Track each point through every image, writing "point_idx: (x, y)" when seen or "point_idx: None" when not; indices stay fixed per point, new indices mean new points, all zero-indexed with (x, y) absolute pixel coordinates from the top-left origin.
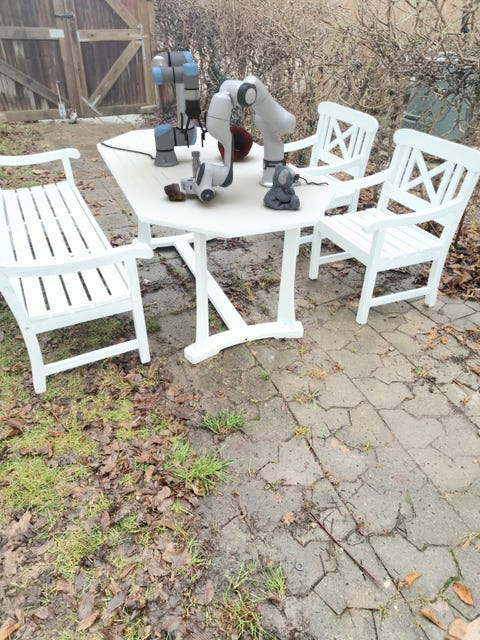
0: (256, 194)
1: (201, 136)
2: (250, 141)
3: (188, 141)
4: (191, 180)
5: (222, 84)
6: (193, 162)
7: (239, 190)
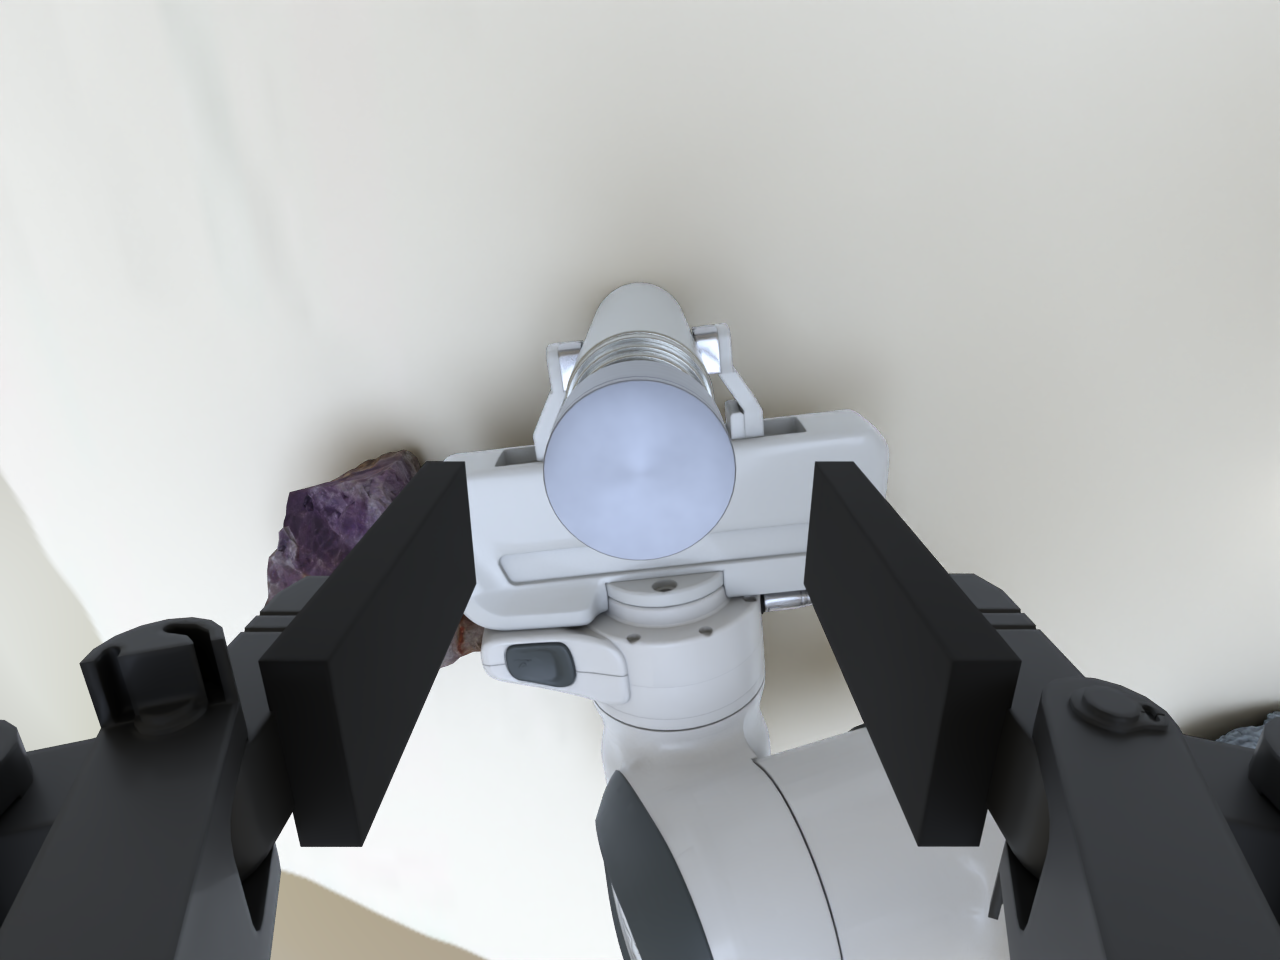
0: (1186, 537)
1: (891, 779)
2: None
3: (430, 677)
4: (557, 667)
5: None
6: None
7: (1073, 398)
